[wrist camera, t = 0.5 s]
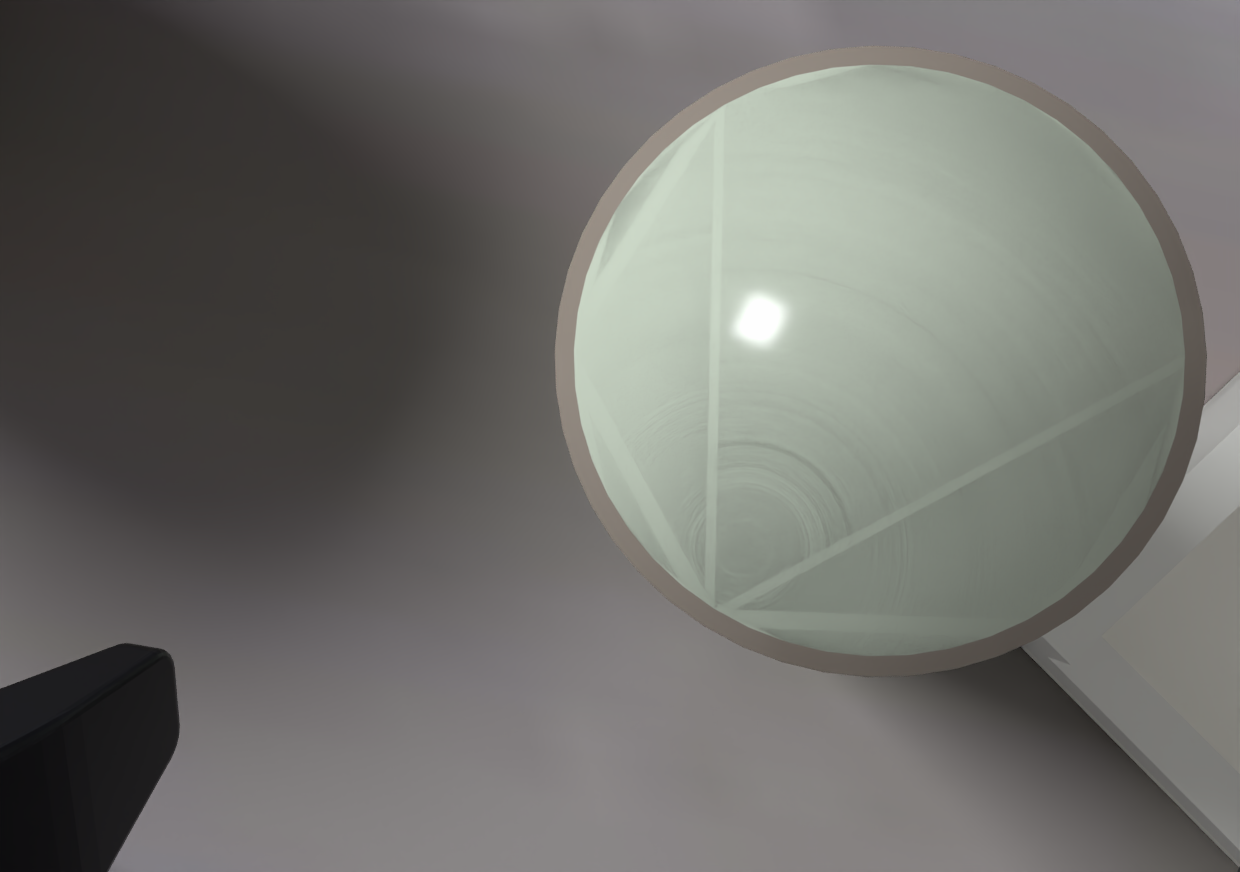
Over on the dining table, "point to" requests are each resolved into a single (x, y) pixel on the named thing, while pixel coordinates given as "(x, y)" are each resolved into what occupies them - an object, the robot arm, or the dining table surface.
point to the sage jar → (880, 361)
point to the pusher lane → (1173, 640)
